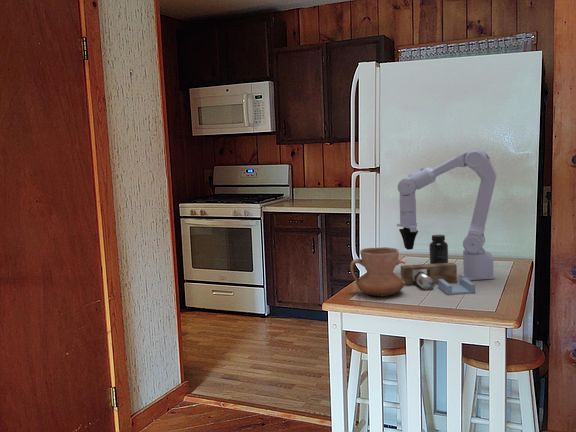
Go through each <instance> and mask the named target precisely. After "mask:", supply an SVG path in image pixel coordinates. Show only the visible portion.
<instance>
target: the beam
mask: <svg viewBox="0 0 576 432" xmlns="http://www.w3.org/2000/svg"><path fill="white" fill-rule="evenodd" d="M457 266H458V265H457V264H456V263H454V262H448V263H436V264H430V263H424V264H407V265H406V264H403V265H400V278H401V279H402V280H403V281H404V282H405V285H404V287H406V286H413V285H414V281H413V270H421V271H422V270H426V274H427V275H428V276H429V277H430V278H432V279H433V280H434V285H436V284H437V285H438V279H443V280H445V281H446V282H447V283H449V284H450V283H451V284H452V283H454V284H455V283H457V282H458V280H457V279H458V276H457V275H458V271H457V269H458V268H457Z"/></svg>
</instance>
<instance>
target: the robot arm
mask: <svg viewBox="0 0 576 432" xmlns="http://www.w3.org/2000/svg"><path fill="white" fill-rule="evenodd" d="M465 167H468V168H469V169H471V170H472V171H474V172H475V174H476V175H477V177H479V179H480V183H479V186H478V192H477V197H476V200H475V204H474V208H473V214H472V217H471V222H470V226H469V229H468V233H467V236H466V237H464V239H463V241H462V247H463V252H462V253H463V255H462V256H463V258H462V259H463V263H462V264H463V273H459V274H458V275H459V276H460V277H461V278H466V279H468V280H469V281H477V280H479V281H480V280H494V279H495V276H494V257H493V254H492V252H491V251H486V250H485V248H484V247H483V246H484V245H485V243H486V238H485V229H486V223H487V220H488V219H487V218H488V214H489V210H490V207H491V201H492V197H493V193H494V189H495V186H496V185H495V184H496V180H497V172H496V170H495V168H494V165H493V163H492V160H491V157H490V156H489V155H488V153H486V152H485V151H484V150H482V149H479V148H477V149H472V150H470V151H467V152H464V153H461V154H458V155H455V156H453V157H451V158H450V159H447V160H446V161H445V162H442V163H441V164H439V165H437V166H434V168H431V167H428V166H427V167H424V166H423V167H421V168H419V171H417V172H415V173H413V174H412V173H411V174H408V176H407V177H406V178H402V179H401V180H400V181H399V182H398V184H397V191H398V192H399V223H397V224H396V226H397V227H401V228H399V229H398V230H399V233H400V235H401V238H402V240H403V246H404V248H405V249H406V250H409V251H410V250H413V249H414V246H415V241H416V237H417V236H418V233H419V230H417V229H418V227H417V226H418V223H417V199H416V191H417V190H421V189H423V188H425V187H427V186H429V185H431V184H433V183H435V182H436V179H437V177H438V176H440V175H443V174H445V173H447V172H449V171H451V170H453V169H455V168H465Z"/></svg>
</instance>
